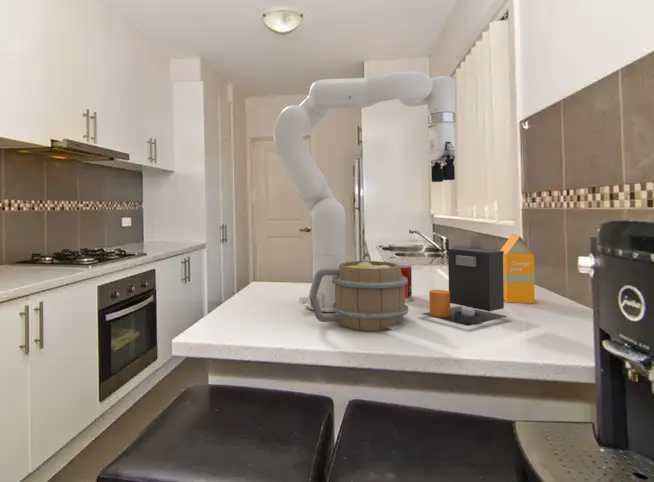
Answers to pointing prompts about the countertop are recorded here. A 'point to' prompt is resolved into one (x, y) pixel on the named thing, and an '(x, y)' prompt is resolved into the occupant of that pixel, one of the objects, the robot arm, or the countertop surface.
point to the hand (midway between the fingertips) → (442, 180)
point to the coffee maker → (476, 278)
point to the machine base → (468, 320)
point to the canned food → (407, 273)
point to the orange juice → (518, 271)
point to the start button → (468, 311)
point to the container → (439, 303)
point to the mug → (364, 295)
